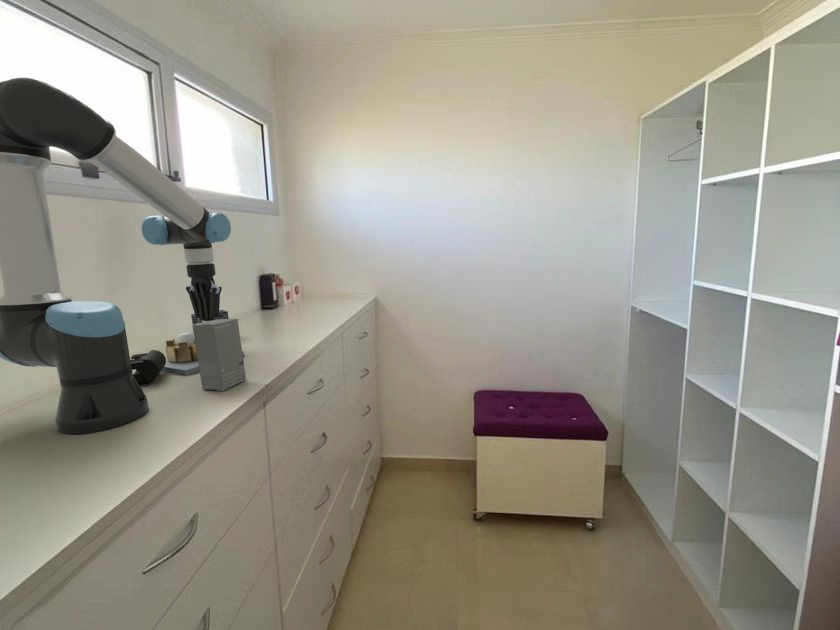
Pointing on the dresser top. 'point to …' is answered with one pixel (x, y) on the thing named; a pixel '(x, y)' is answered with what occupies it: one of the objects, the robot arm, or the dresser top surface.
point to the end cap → (147, 366)
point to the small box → (222, 315)
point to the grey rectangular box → (219, 353)
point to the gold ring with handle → (180, 351)
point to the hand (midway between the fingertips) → (210, 340)
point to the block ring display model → (185, 366)
